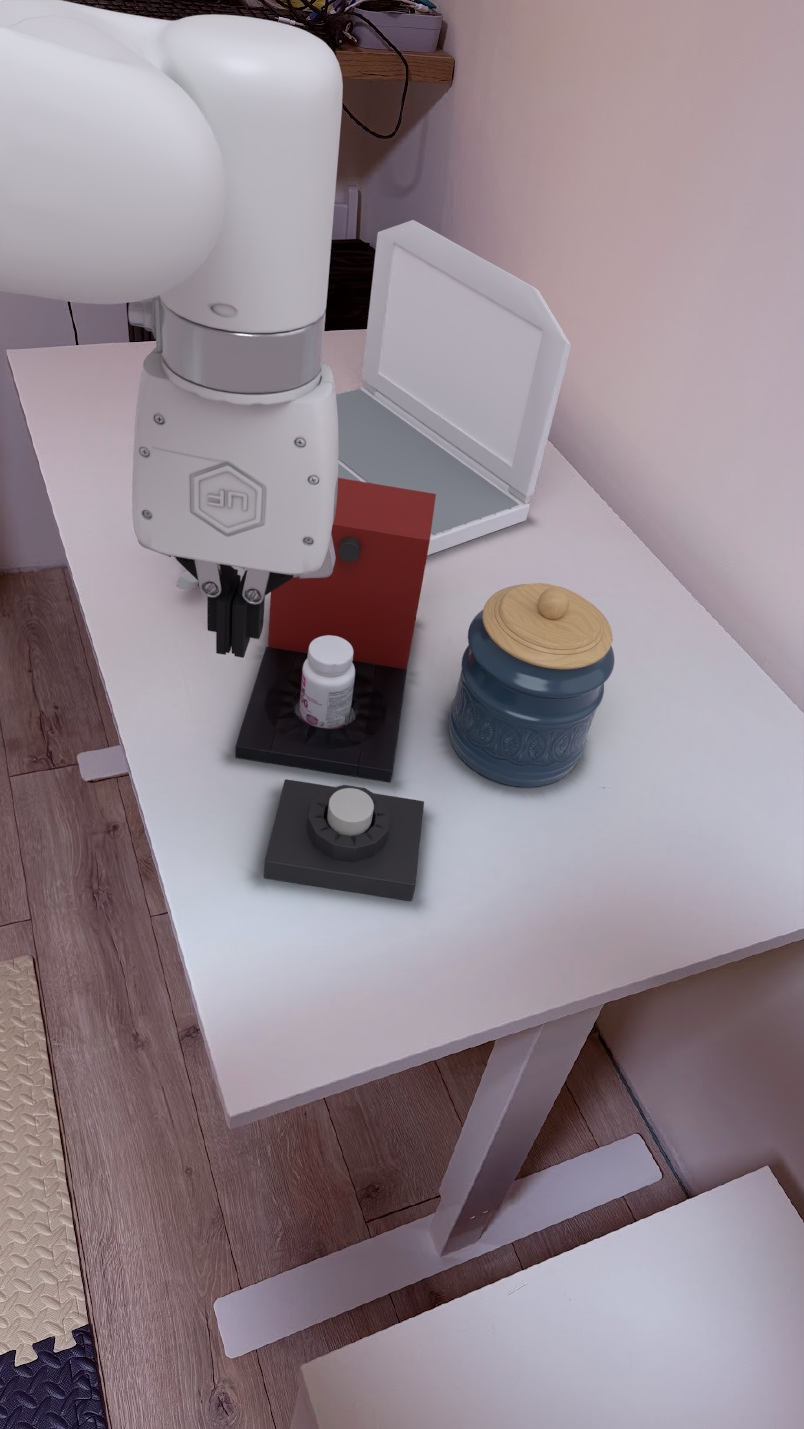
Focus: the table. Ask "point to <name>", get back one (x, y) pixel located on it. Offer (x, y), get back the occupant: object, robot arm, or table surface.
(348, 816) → the button
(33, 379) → the table surface
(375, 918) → the table surface
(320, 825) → the control block
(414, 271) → the laptop
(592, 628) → the canister
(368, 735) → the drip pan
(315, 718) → the pill bottle
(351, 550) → the red box with knob
